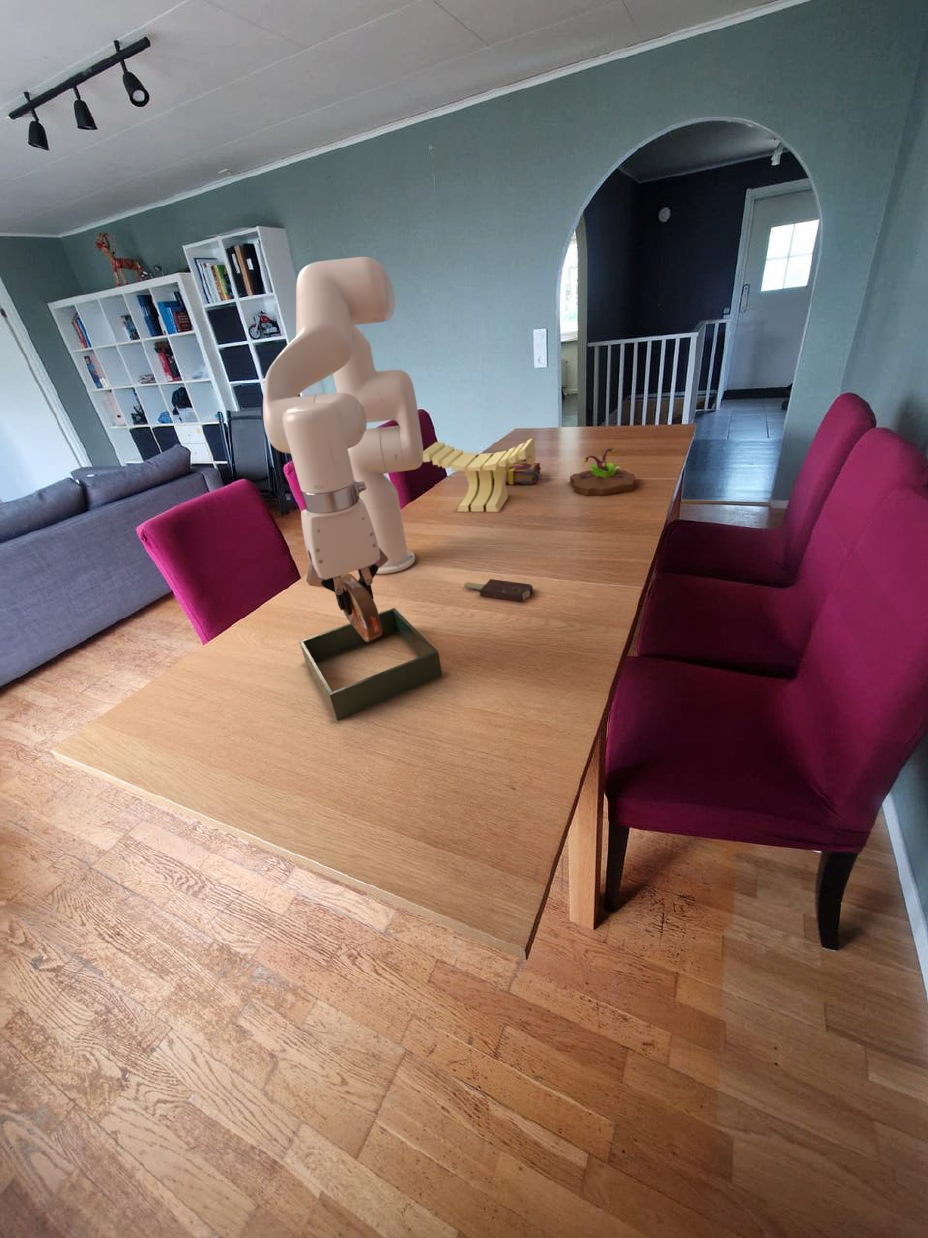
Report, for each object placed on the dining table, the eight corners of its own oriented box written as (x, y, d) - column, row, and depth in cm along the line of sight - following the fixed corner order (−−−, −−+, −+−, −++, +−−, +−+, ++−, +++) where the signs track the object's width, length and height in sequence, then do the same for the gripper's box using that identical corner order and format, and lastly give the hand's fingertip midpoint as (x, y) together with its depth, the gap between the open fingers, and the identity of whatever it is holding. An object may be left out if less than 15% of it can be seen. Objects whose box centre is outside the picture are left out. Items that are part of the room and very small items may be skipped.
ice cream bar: (459, 593, 109) (525, 603, 103) (458, 586, 108) (525, 596, 102) (470, 582, 113) (534, 591, 107) (469, 575, 112) (534, 584, 106)
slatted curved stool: (536, 494, 161) (534, 435, 152) (527, 511, 148) (524, 448, 139) (446, 494, 170) (439, 439, 160) (430, 511, 157) (422, 452, 148)
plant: (643, 492, 153) (647, 453, 147) (577, 497, 154) (578, 460, 148) (626, 473, 170) (628, 438, 164) (567, 479, 171) (567, 444, 165)
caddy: (306, 664, 92) (299, 641, 89) (398, 630, 99) (394, 607, 96) (337, 720, 78) (329, 695, 75) (442, 676, 85) (438, 651, 82)
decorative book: (499, 475, 183) (498, 460, 181) (543, 475, 178) (543, 460, 175) (490, 484, 174) (488, 469, 172) (536, 485, 169) (536, 469, 166)
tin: (342, 612, 90) (326, 571, 85) (358, 605, 91) (343, 563, 86) (372, 651, 78) (356, 606, 73) (391, 643, 79) (376, 597, 74)
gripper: (374, 478, 79) (394, 584, 88) (268, 505, 72) (302, 615, 82) (393, 490, 73) (412, 601, 83) (279, 519, 67) (315, 636, 77)
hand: (357, 607), depth 82 cm, fingers closed on tin, 2 cm apart
